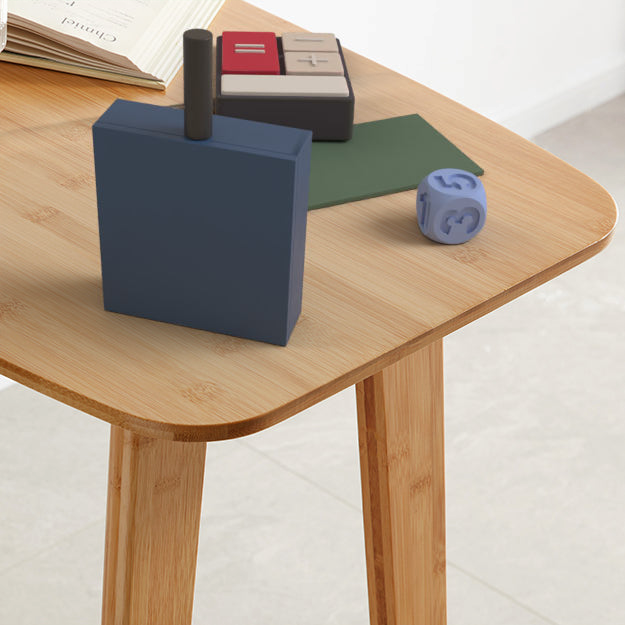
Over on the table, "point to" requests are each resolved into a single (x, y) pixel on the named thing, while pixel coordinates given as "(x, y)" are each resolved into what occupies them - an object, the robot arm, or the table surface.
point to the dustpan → (202, 211)
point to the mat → (380, 160)
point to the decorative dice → (451, 206)
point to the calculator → (285, 81)
